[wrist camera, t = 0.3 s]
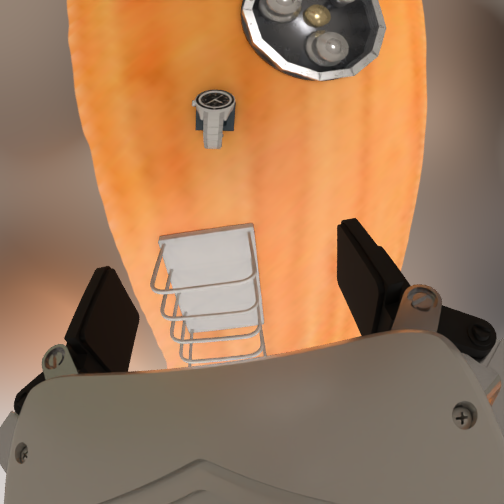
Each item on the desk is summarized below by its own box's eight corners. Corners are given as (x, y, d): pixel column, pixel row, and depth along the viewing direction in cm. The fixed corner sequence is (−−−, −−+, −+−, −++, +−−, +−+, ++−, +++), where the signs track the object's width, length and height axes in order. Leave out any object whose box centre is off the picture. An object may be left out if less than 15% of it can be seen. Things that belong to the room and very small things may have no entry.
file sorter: (263, 318, 66) (272, 374, 53) (189, 326, 66) (185, 382, 53) (252, 222, 52) (263, 276, 39) (159, 235, 52) (140, 291, 39)
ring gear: (213, 14, 31) (213, 9, 28) (310, -54, 23) (316, -60, 21) (313, 104, 40) (318, 106, 37) (397, 35, 32) (406, 34, 30)
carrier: (210, 16, 31) (208, 6, 26) (308, -54, 24) (319, -68, 19) (310, 106, 41) (322, 111, 36) (396, 36, 34) (416, 34, 28)
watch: (235, 89, 39) (239, 91, 30) (232, 138, 43) (234, 155, 34) (198, 88, 38) (190, 90, 29) (196, 137, 42) (188, 154, 33)
